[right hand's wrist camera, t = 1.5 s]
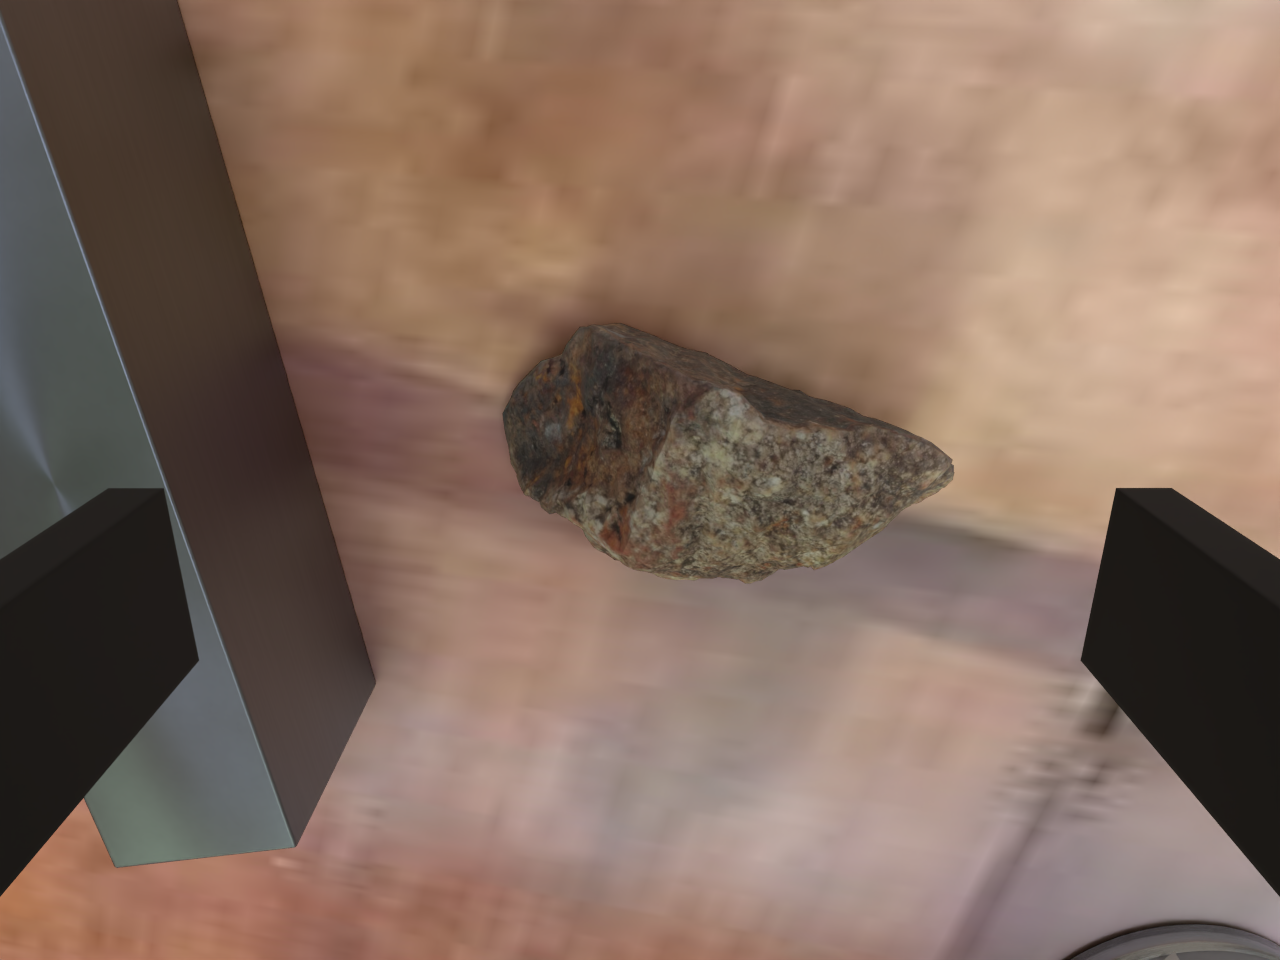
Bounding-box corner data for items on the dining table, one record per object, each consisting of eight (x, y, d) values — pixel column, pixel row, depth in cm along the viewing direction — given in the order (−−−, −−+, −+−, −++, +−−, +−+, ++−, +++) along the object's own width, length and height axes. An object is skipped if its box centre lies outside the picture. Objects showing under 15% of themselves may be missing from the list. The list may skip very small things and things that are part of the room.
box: (376, 684, 37) (296, 848, 29) (235, 701, 37) (114, 869, 29) (172, -19, 28) (-37, -90, 19) (-12, 12, 28) (-299, -44, 20)
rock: (587, 234, 31) (479, 473, 35) (544, 253, 23) (409, 563, 27) (944, 416, 33) (808, 631, 36) (1022, 495, 24) (837, 764, 28)
